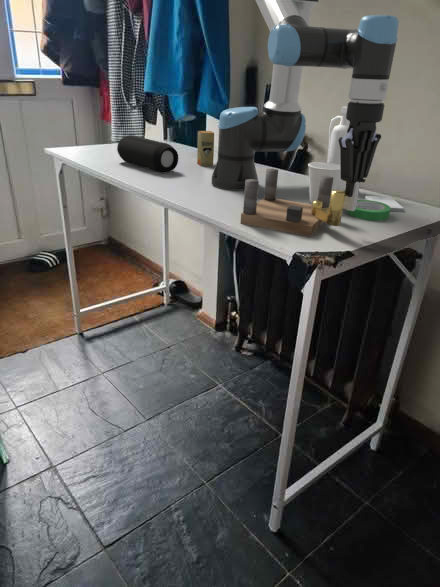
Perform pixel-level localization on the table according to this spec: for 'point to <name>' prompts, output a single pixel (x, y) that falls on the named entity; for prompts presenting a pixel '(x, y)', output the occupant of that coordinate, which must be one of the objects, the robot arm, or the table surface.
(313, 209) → the leg
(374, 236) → the table surface
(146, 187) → the table surface
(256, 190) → the wooden peg board
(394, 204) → the external hard drive
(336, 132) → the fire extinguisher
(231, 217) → the table surface
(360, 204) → the tape roll
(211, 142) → the shoe polish box
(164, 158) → the portable speaker
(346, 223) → the table surface
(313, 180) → the cup
